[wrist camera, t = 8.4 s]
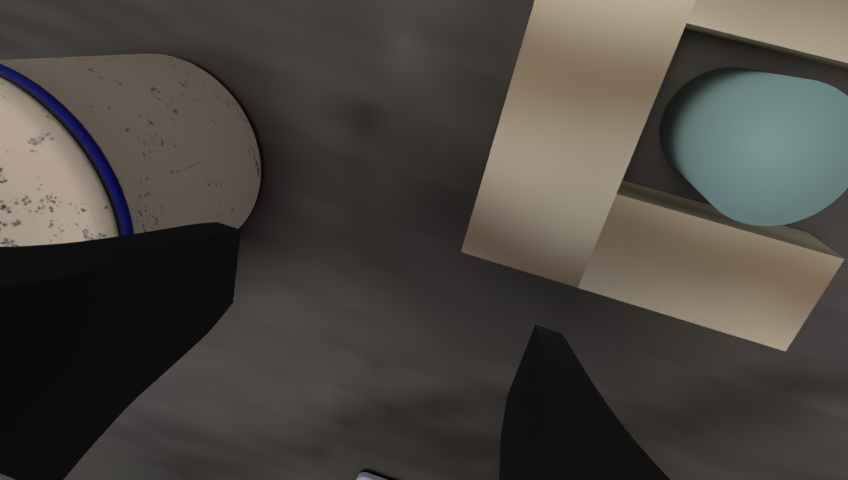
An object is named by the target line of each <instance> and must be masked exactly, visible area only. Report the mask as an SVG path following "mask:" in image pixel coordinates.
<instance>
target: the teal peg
mask: <svg viewBox="0 0 848 480" xmlns="http://www.w3.org/2000/svg"><path fill="white" fill-rule="evenodd" d="M659 136H660V143H661V148H662V150H663V153H664V155H665V157H666V158H667V160H668V161H669V162H670V164H671V165H672V166H673V167H674V168H675V169H676V170H677V171H678V172H679V173H680V174H681V175H682V176H683V177H684V178H685V179H686V180H687V181H688V182H689V183H690V184H691V185H692V186H693V187H694V188H695V189H696V190H698V191H699V192H700V193H701V194H702V195H703V196H704V197H705V198H706V199H707V200H708V201H709V202H710V203H711V204H712V205H713V206H714V207H715V208H716V209H717V210H718V211H720V212H721V213H722V214H724V215H725V216H727V217H729V218H731V219H733V220H735V221H738V222H741V223H745V224H749V225H755V226H778V225H785V224H789V223H793V222H797V221H800V220H803V219H805V218H807V217H810V216H812V215H814V214H816V213H818V212H819V211H821V210H823V209H824V208H826V207H827V206H829V205H830V204H831V203H833V202H834V201H835V200H836V199H837V198H838V197H839V196H840V195H842V193H843V192H844V191H845V190H846V189H847V188H848V96H847V95H845V94H844V93H843V92H841V91H840V90H838V89H837V88H835V87H833V86H831V85H829V84H826V83H823V82H820V81H815V80H810V79H804V78H798V77H791V76H785V75H779V74H773V73H767V72H760V71H754V70H748V69H742V68H721V69H716V70H712V71H709V72H706V73H703V74H701V75H699V76H697V77H695V78H694V79H692V80H690V81H689V82H688V83H686V84H685V85H684V86H682V87H681V88H680V89H679V90H678V91H677V92H676V93H675V95H674V96H673V97H672V98H671V100H670V101H669V103H668V104H667V106H666V108H665V110H664V113H663V116H662V119H661V123H660V131H659Z"/></svg>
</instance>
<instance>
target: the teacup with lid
mask: <svg viewBox="0 0 848 480" xmlns="http://www.w3.org/2000/svg"><path fill="white" fill-rule="evenodd" d="M260 180H261V163H260V155H259V149H258V145H257V141H256V138H255V135H254V132H253V130H252V128H251V125H250V123H249V121H248V119H247V117H246V115H245V113H244V112H243V110H242V109H241V107H240V106H239V104H238V103H237V101H236V100H235V99H234V97H233V96H232V95H231V94H230V93H229V92H228V90H227V89H226V88H225V87H224V86H223V85H222V84H221V83H220V82H218V81H217V80H216V79H215V78H214V77H212V76H211V75H210V74H208V73H207V72H205V71H204V70H202V69H201V68H199V67H197V66H196V65H194V64H192V63H190V62H187V61H185V60H183V59H180V58H176V57H173V56H168V55H163V54H153V53H151V54H128V55H105V56H83V57H61V58H39V59H16V60H0V247H15V246H33V245H48V244H61V243H71V242H81V241H88V240H95V239H103V238H110V237H117V236H124V235H131V234H137V233H143V232H149V231H155V230H161V229H167V228H173V227H179V226H185V225H192V224H199V223H209V222H218V223H221V224H225V225H228V226H231V227H234V228H237V229H238V228H239V227H241V226H242V224H243V223H244V222H245V221H246V220H247V218H248V216H249V215H250V213H251V211H252V209H253V207H254V205H255V202H256V199H257V196H258V192H259V188H260Z"/></svg>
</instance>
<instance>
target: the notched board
mask: <svg viewBox="0 0 848 480" xmlns="http://www.w3.org/2000/svg"><path fill="white" fill-rule="evenodd" d="M684 29H687V30H691V31H695V32H699V33H703V34H707V35H711V36H715V37H719V38H723V39H727V40H731V41H735V42H739V43H743V44H747V45H751V46H755V47H759V48H763V49H767V50H771V51H775V52H779V53H783V54H787V55H791V56H795V57H799V58H803V59H807V60H811V61H815V62H819V63H823V64H827V65H831V66H835V67H839V68H843V69H847V70H848V0H535V1H534V5H533V8H532V12H531V15H530V18H529V22H528V25H527V29H526V32H525V35H524V39H523V42H522V46H521V49H520V52H519V56H518V59H517V63H516V66H515V69H514V73H513V76H512V80H511V83H510V86H509V90H508V93H507V97H506V100H505V103H504V107H503V110H502V114H501V117H500V120H499V124H498V127H497V131H496V134H495V138H494V141H493V144H492V148H491V151H490V155H489V158H488V161H487V165H486V168H485V172H484V175H483V178H482V182H481V185H480V189H479V192H478V195H477V199H476V202H475V206H474V209H473V212H472V216H471V219H470V223H469V226H468V229H467V233H466V236H465V240H464V243H463V246H462V250H461V252H462V253H466V254H469V255H472V256H476V257H479V258H482V259H485V260H489V261H492V262H495V263H498V264H502V265H505V266H508V267H511V268H515V269H518V270H521V271H525V272H528V273H531V274H534V275H538V276H541V277H544V278H547V279H551V280H554V281H557V282H560V283H564V284H567V285H570V286H574V287H577V288H580V289H583V290H587V291H590V292H593V293H596V294H600V295H603V296H606V297H609V298H613V299H616V300H619V301H622V302H626V303H629V304H632V305H636V306H639V307H642V308H645V309H649V310H652V311H655V312H658V313H662V314H665V315H668V316H671V317H675V318H678V319H681V320H685V321H688V322H691V323H694V324H698V325H701V326H704V327H707V328H711V329H714V330H717V331H720V332H724V333H727V334H730V335H734V336H737V337H740V338H743V339H747V340H750V341H753V342H756V343H760V344H763V345H766V346H769V347H773V348H776V349H779V350H783V351H786V350H787V349H788V347H789V345H790V344H791V342H792V341H793V339H794V338H795V336H796V334H797V333H798V331H799V330H800V328H801V327H802V325H803V323H804V322H805V320H806V319H807V317H808V316H809V314H810V313H811V311H812V309H813V308H814V306H815V305H816V303H817V302H818V300H819V298H820V297H821V295H822V294H823V292H824V291H825V289H826V287H827V286H828V284H829V283H830V281H831V280H832V278H833V277H834V275H835V273H836V272H837V270H838V269H839V267H840V266H841V264H842V262H843V261H844V258H842V257H841V256H840V255H838V254H837V253H835V252H834V251H833V250H831V249H830V248H829V247H827V246H826V245H825V244H823V243H822V242H821V241H819V240H818V239H816V238H815V237H814V236H812V235H811V234H810V233H808V232H805V231H801V230H798V229H794V228H791V227H787V226H783V225H778V226H755V225H749V224H745V223H741V222H738V221H735V220H733V219H731V218H729V217H727V216H725V215H724V214H722V213H721V212H720V211H718V210H717V209H716V208H715V207H714V206H713V205H709V204H706V203H702V202H698V201H695V200H691V199H688V198H684V197H681V196H677V195H674V194H670V193H667V192H663V191H660V190H656V189H652V188H649V187H645V186H642V185H638V184H635V183H631V182H628V181H624V180H622V179H623V177H624V174H625V172H626V169H627V167H628V165H629V162H630V160H631V157H632V155H633V152H634V150H635V147H636V145H637V143H638V140H639V138H640V135H641V133H642V130H643V128H644V126H645V123H646V121H647V118H648V116H649V113H650V111H651V109H652V106H653V104H654V101H655V99H656V96H657V94H658V92H659V89H660V87H661V84H662V82H663V79H664V77H665V74H666V72H667V70H668V67H669V65H670V62H671V60H672V57H673V55H674V53H675V50H676V48H677V45H678V43H679V40H680V38H681V36H682V33H683V31H684Z"/></svg>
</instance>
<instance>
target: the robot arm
mask: <svg viewBox="0 0 848 480" xmlns="http://www.w3.org/2000/svg"><path fill="white" fill-rule="evenodd" d="M239 240H240V229H237V228H234V227H231V226H228V225H225V224H221V223H218V222H209V223H199V224H192V225H185V226H179V227H173V228H167V229H161V230H155V231H149V232H143V233H137V234H131V235H124V236H117V237H110V238H103V239H95V240H88V241H81V242H71V243H61V244H48V245H33V246H15V247H0V480H63V479H64V478H65V477H66V476H67V474H68V473H69V472H70V471H71V470H72V469H73V467H74V466H75V465H76V464H77V463H78V461H79V460H80V459H81V458H82V457H83V456H84V454H85V453H86V452H87V451H88V450H89V449H90V447H91V446H92V445H93V444H94V443H95V442H96V441H97V440H98V438H99V437H100V436H101V435H102V434H103V433H104V432H105V431H106V430H107V428H108V427H109V426H110V425H111V424H112V423H113V422H114V421H115V420H116V418H117V417H118V416H119V415H120V414H121V413H122V412H123V411H124V410H125V409H126V408H127V407H128V406H129V405H130V404H131V403H132V402H133V401H134V400H135V399H136V398H137V397H138V396H139V395H140V394H141V393H142V392H144V391H145V390H146V389H147V388H148V387H149V386H150V385H151V384H152V383H154V382H155V381H156V380H157V379H158V378H159V377H160V376H161V375H162V374H164V373H165V372H166V371H167V370H168V369H169V368H170V367H171V366H172V365H173V364H175V363H176V362H177V361H178V360H179V359H180V358H181V357H182V356H183V355H185V354H186V353H187V352H188V351H189V350H190V349H191V348H192V347H193V346H194V345H195V344H197V343H198V342H199V341H200V340H201V339H202V338H203V337H204V336H205V335H206V334H207V333H208V332H209V331H210V330H211V329H212V327H213V326H214V325H215V324H216V323H217V322H218V320H219V319H220V318H221V317H222V315H223V314H224V313H225V312H226V310H227V309H228V308H229V307H230V305H231V304H232V303H233V297H234V287H235V278H236V268H237V259H238V249H239ZM356 480H387V479H384V478H381V477H378V476H376V475H373V474H370V473H367V472H362V473H360V474H359V475H358V476H357V479H356ZM499 480H670V479H669V478H668V477H667V476H666V475H665V474H664V473H663V472H662V471H661V470H660V468H659V467H658V466H657V465H656V464H655V463H654V462H653V461H652V460H651V458H650V457H649V456H648V455H647V454H646V453H645V452H644V451H643V449H642V448H641V447H640V446H639V445H638V444H637V443H636V441H635V440H634V439H633V438H632V437H631V435H630V434H629V433H628V432H627V430H626V429H625V428H624V427H623V425H622V424H621V423H620V421H619V420H618V418H617V417H616V416H615V414H614V413H613V412H612V410H611V409H610V408H609V406H608V405H607V404H606V402H605V401H604V399H603V398H602V396H601V395H600V393H599V392H598V390H597V389H596V387H595V386H594V384H593V383H592V381H591V380H590V378H589V377H588V375H587V373H586V372H585V370H584V369H583V367H582V365H581V364H580V362H579V360H578V359H577V357H576V355H575V354H574V352H573V350H572V349H571V347H570V345H569V344H568V342H567V340H566V339H565V337H564V336H563V334H561V333H558V332H555V331H552V330H549V329H546V328H543V327H540V326H537V325H535V327H534V330H533V333H532V335H531V338H530V340H529V343H528V345H527V348H526V350H525V353H524V355H523V358H522V360H521V363H520V365H519V368H518V371H517V373H516V376H515V378H514V381H513V383H512V386H511V388H510V391H509V393H508V396H507V402H506V408H505V414H504V420H503V426H502V432H501V451H500V479H499Z"/></svg>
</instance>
